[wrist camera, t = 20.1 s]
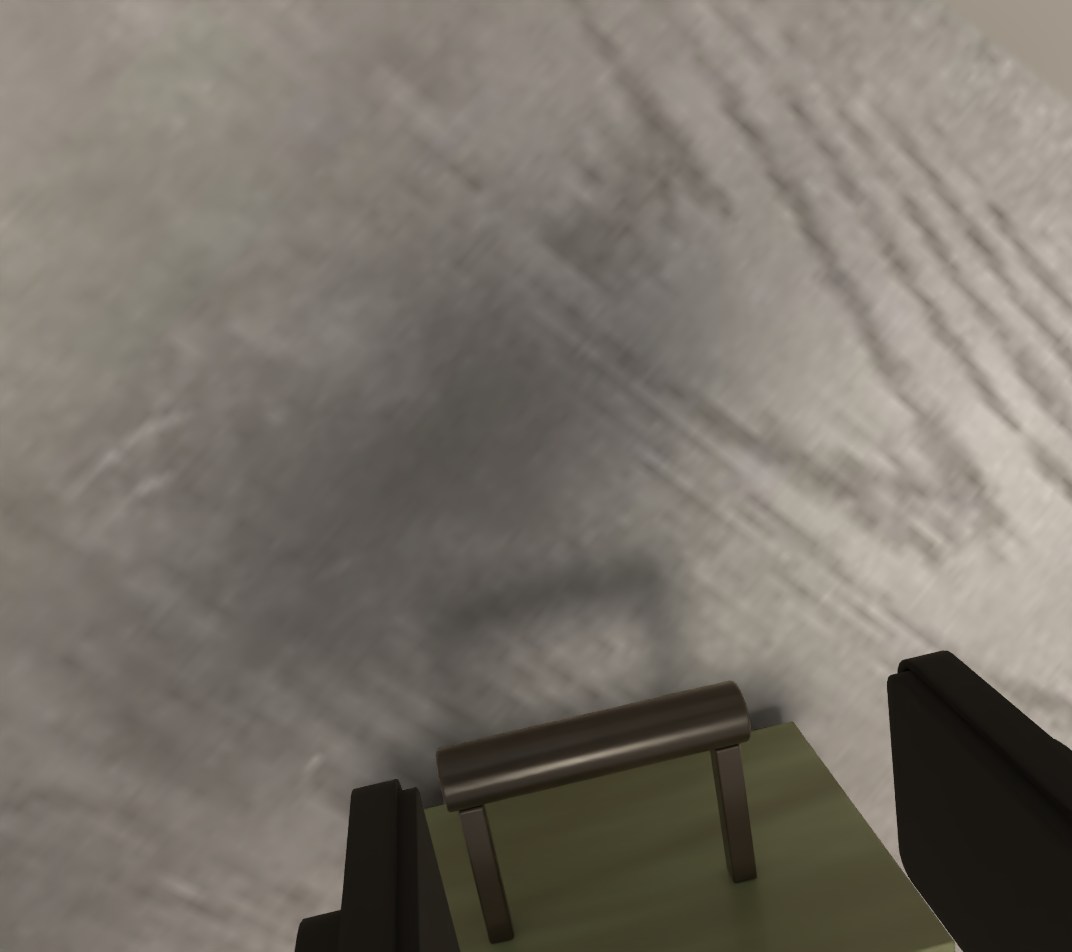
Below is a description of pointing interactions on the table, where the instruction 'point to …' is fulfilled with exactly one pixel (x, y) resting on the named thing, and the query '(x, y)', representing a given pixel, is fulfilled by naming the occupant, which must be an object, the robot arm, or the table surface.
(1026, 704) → the table surface
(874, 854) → the drawer
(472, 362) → the table surface
